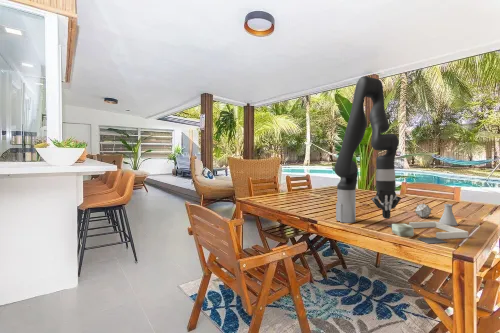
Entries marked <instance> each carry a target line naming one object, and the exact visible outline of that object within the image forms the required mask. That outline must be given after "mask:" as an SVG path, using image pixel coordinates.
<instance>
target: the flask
mask: <svg viewBox="0 0 500 333" xmlns="http://www.w3.org/2000/svg"><path fill="white" fill-rule="evenodd" d="M443 206H444V209H443V212H442V215H441V217H440V219H439V221H438V222H439V223H442V224H445V225H449V226H452V227H455V226H459V224H458V222H457V220H456V217H455V215H454V213H453V204H450V203H445V204H443Z"/></svg>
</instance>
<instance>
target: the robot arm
mask: <svg viewBox="0 0 500 333" xmlns="http://www.w3.org/2000/svg"><path fill="white" fill-rule="evenodd" d="M382 82H383V81H381V79H378V78H375V77H370V76H367V75H365V76H364V75H363V76H361V77H360V78H359V79H358V80H357V82H356V85H355V89H354V94H353V100H352V106H351V110H350V114H349V118H348V121H347V125H346V128H345V132H344V137H343V139H342V140H343V141H342V144H341V147H340V151H339V154H338V156H337V159H336V161H335V165H334V172H335V175H336V176H338V177H340V180H339V182H338V183H337V184H336V186H337V196H336V198H337V200H336V203H335V220H336V221H338V222H339V221H340V223H348V224H350V223H356V222H357V221H356V220H357V219H356V217H357V216H356V213H357V211H356V210H357V208H356V204H357V202H356V197H357V196H356V192H357V191H356V190H357V189H356V187H357V185H358V165H357V163H356V162H355V161H354V160H353V158H354V154H355V152H356V150H357V148H358V147H359V146H360V144H362V140H363V139H364V136H365V133H366V130H367V125H368V121H367V116H366V114H365V109H364V104H365V98H368V99H369V98H370V99H371V102H372V108H371V110H370V112H369V115H368V116H369V122H370V126H371V143H370V144H371V148H372V149H373V150H375V151H386V153H385V154H383V155H379V156H377V157H376V159H375V160H376V161H375V162H376V168H375V169H376V172H375V181H376V182H375V185H376V194H375V196H374V197H371V201H372V202H373V204H374V205H375V206H376V207H377V208H378V209H380V210H382V211H381V212H382V218H383V219H384V220H387V219H390V218H391V210H393V209H395V208H396V207H397V206H398V204H399V203H400V201H401V199H402V198H401V197H400V196H398V195H397V193H396V190H397V189H396V188H397V186H396V182H397V181H396V170H395V159H396V155H397V150H398V147H399V137H398V136H397V135H396V134H394V133H386V132H387V131H388V130H390V124H389V120H388V116H387V113H386V109H385V98H384V97H385V96H384V95H385V94H384V86H383V83H382ZM384 133H385V134H384Z"/></svg>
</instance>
